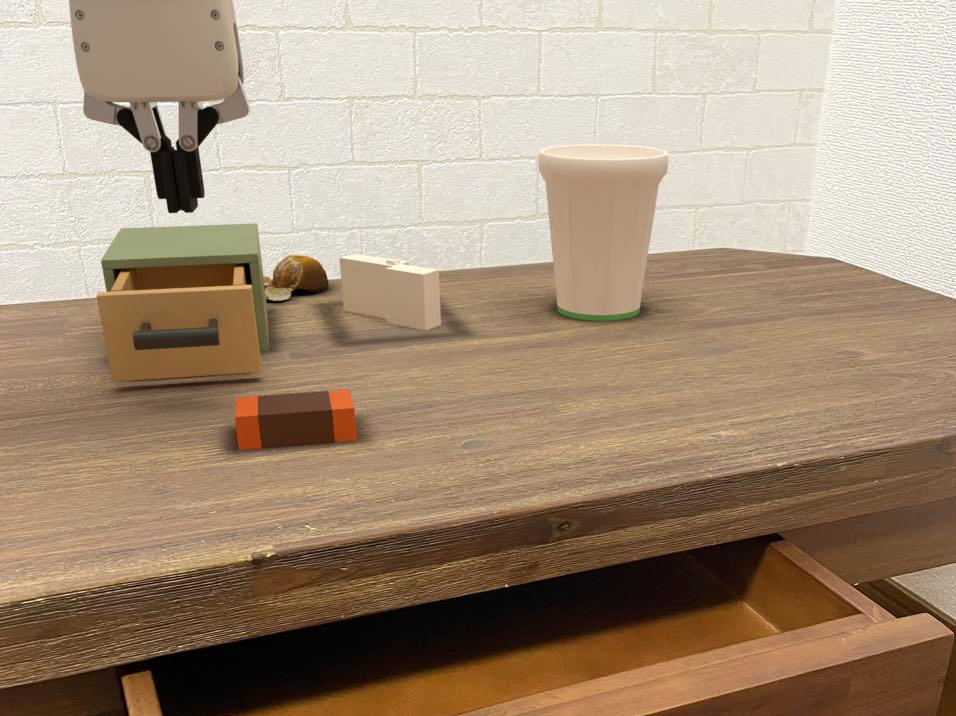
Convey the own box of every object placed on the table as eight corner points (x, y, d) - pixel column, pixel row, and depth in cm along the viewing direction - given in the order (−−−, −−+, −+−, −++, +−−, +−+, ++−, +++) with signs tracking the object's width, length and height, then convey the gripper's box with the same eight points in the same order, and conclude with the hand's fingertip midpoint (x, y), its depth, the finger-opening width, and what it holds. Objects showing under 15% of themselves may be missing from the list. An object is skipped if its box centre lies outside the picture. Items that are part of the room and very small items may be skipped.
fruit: (239, 289, 113) (235, 255, 111) (310, 279, 117) (307, 246, 115) (269, 305, 107) (265, 269, 105) (343, 294, 111) (340, 259, 109)
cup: (684, 317, 103) (696, 154, 97) (577, 333, 98) (581, 162, 91) (616, 291, 113) (622, 141, 106) (515, 304, 108) (515, 147, 101)
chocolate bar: (239, 451, 71) (234, 416, 70) (239, 430, 75) (235, 397, 74) (357, 442, 73) (354, 407, 72) (352, 422, 76) (349, 389, 75)
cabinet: (269, 351, 92) (257, 253, 88) (118, 361, 89) (100, 259, 86) (267, 310, 105) (257, 223, 101) (135, 318, 102) (120, 228, 98)
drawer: (262, 390, 80) (251, 302, 77) (104, 401, 77) (87, 311, 74) (260, 328, 96) (251, 253, 93) (130, 335, 93) (116, 259, 90)
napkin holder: (321, 306, 107) (316, 249, 104) (429, 298, 110) (427, 243, 107) (344, 345, 94) (339, 282, 91) (466, 335, 97) (464, 273, 95)
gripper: (265, -89, 69) (295, 198, 77) (28, -91, 67) (85, 204, 75) (254, -99, 62) (288, 216, 71) (-9, -102, 60) (58, 222, 69)
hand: (183, 209), depth 73 cm, fingers closed
